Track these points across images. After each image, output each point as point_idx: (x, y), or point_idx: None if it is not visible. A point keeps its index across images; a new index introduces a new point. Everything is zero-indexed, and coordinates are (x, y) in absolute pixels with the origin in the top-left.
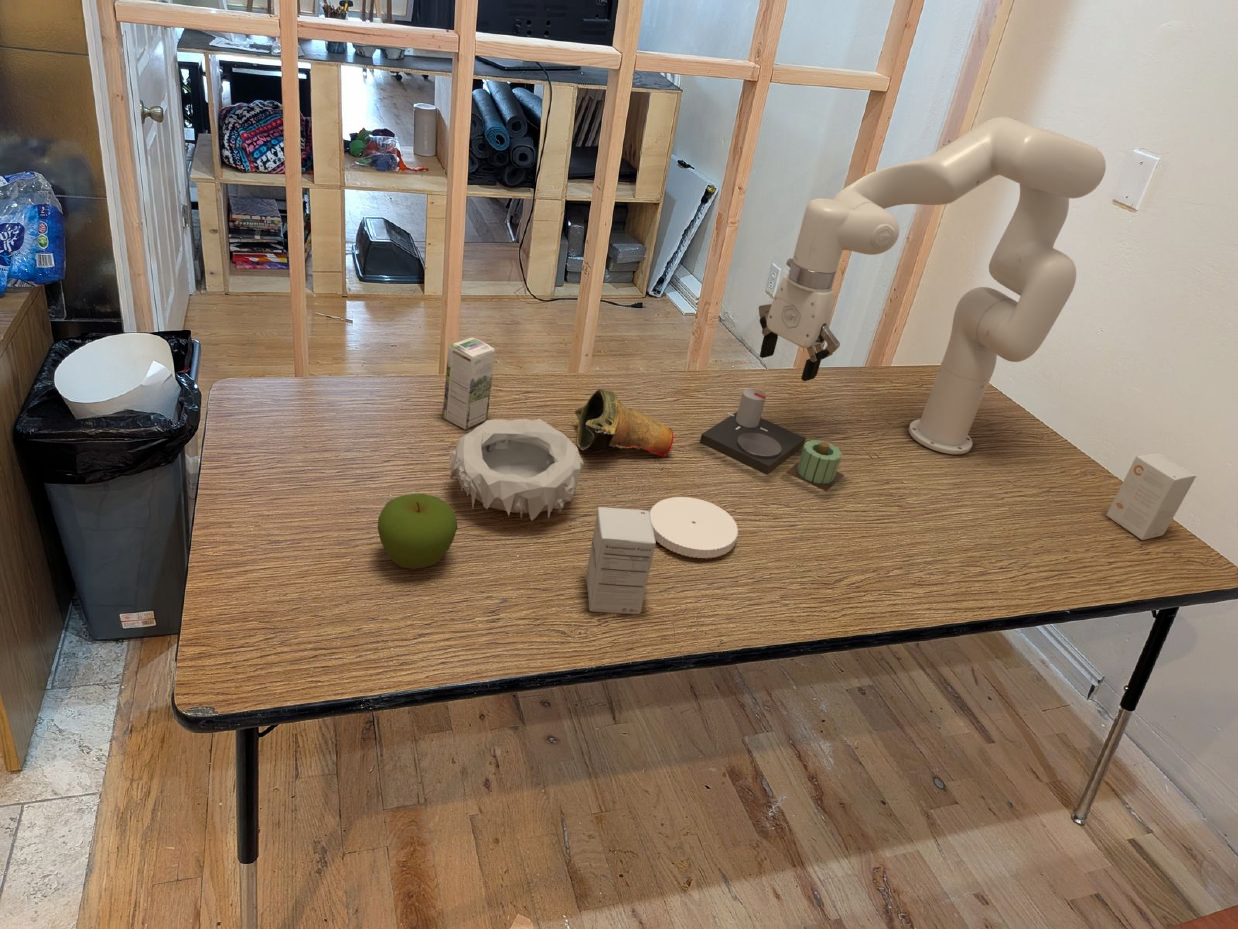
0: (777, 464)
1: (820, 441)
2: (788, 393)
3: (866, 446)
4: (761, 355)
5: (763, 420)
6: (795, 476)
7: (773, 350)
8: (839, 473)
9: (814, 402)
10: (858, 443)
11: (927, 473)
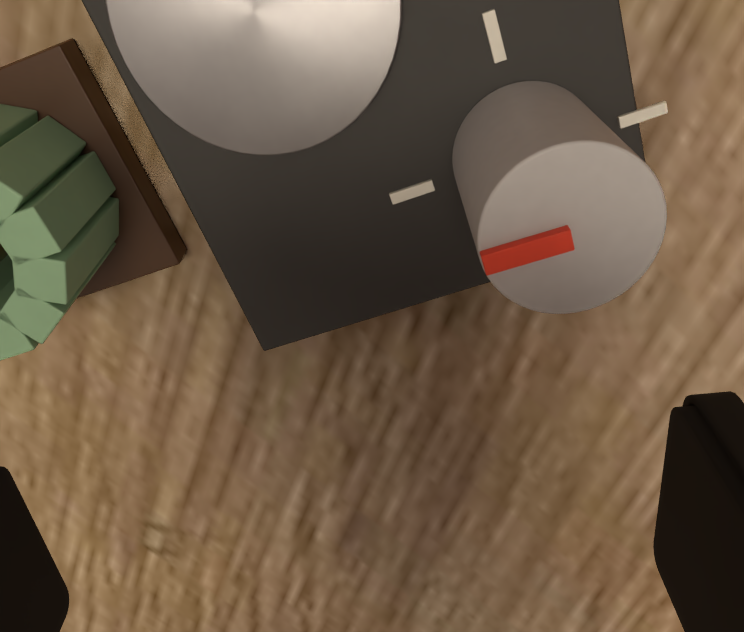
0: None
1: (44, 318)
2: None
3: (228, 561)
4: (711, 407)
5: None
6: (8, 68)
7: (679, 598)
8: None
9: (567, 602)
10: (256, 551)
11: None
